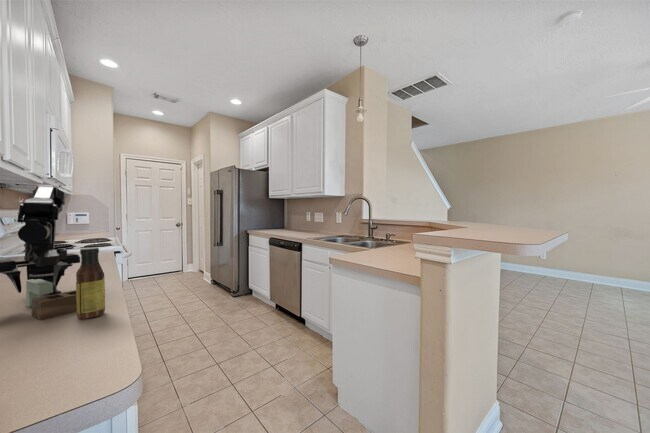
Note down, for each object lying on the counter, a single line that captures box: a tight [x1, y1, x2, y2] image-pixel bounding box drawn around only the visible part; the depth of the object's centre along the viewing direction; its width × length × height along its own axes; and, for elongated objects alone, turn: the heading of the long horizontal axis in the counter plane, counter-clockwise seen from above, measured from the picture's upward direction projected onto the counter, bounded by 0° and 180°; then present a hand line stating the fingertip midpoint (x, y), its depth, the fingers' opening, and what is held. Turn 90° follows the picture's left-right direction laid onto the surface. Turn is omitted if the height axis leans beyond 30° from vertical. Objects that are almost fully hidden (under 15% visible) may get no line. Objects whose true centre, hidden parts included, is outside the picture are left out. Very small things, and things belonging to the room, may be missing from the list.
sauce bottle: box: [75, 247, 106, 320], centre depth 76 cm, size 6×6×20 cm
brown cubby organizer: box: [31, 289, 77, 321], centre depth 79 cm, size 6×12×5 cm, turn 154°
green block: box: [25, 279, 53, 308], centre depth 82 cm, size 10×3×8 cm, turn 64°
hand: (38, 289), depth 82 cm, fingers open, 8 cm apart
